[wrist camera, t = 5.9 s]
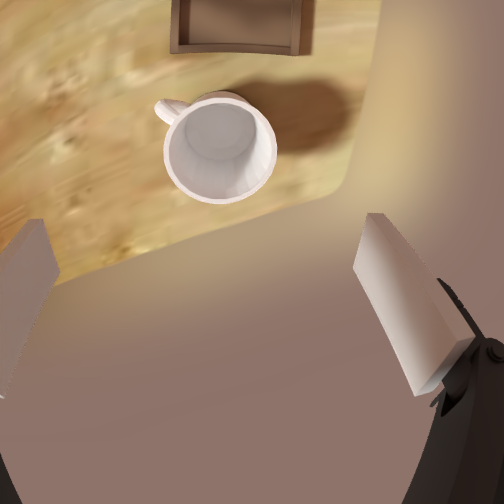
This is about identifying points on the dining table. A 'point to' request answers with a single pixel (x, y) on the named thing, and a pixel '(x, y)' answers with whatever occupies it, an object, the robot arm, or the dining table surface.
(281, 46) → the tray
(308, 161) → the dining table surface
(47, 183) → the dining table surface
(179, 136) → the mug
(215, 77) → the dining table surface
